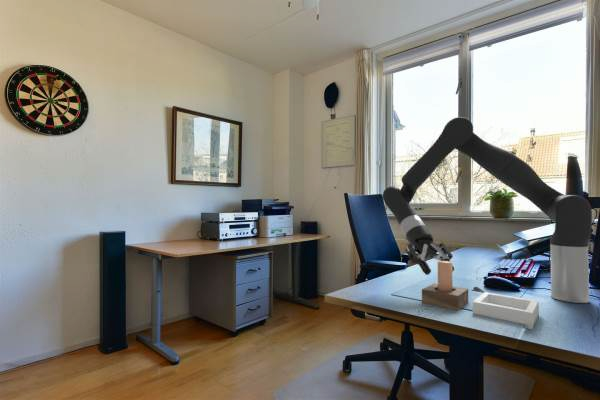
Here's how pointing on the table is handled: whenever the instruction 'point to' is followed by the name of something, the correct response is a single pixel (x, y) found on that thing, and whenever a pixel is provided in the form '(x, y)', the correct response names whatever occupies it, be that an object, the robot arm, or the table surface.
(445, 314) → the table surface
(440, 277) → the tan rectangular block
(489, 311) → the tray
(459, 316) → the table surface
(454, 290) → the socket block
